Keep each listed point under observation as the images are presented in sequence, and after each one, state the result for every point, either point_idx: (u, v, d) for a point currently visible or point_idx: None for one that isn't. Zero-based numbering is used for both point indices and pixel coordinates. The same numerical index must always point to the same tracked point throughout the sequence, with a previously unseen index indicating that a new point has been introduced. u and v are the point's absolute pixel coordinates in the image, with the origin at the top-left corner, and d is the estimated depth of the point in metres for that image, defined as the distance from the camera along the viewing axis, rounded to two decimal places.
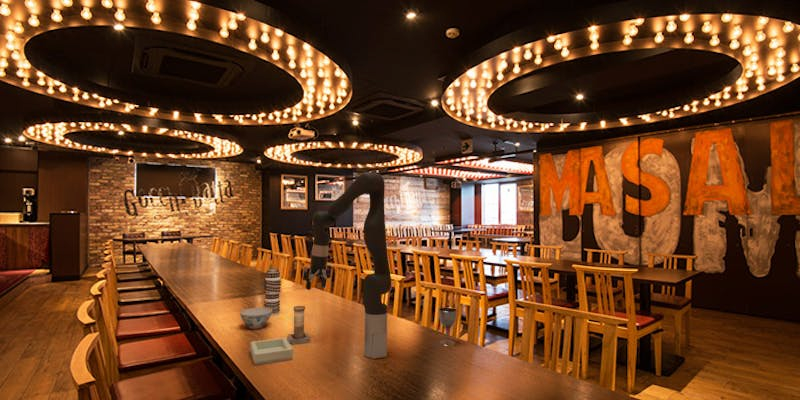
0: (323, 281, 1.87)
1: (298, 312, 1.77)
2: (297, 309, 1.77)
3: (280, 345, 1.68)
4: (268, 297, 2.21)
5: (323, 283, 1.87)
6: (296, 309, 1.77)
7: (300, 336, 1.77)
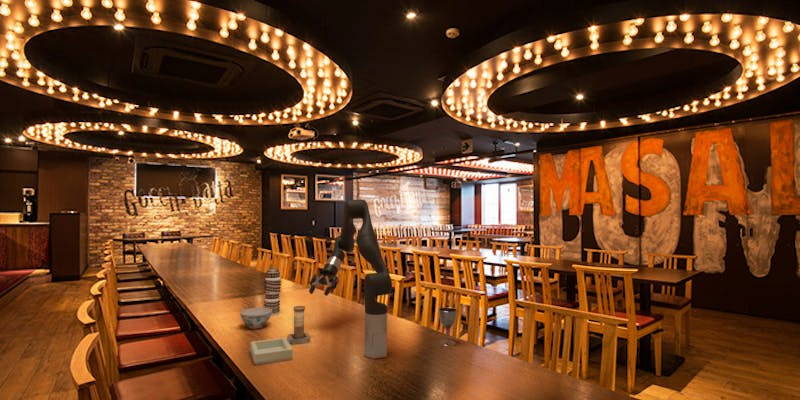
0: None
1: (298, 312, 1.77)
2: (297, 309, 1.77)
3: (280, 345, 1.68)
4: (268, 297, 2.21)
5: None
6: (296, 309, 1.77)
7: (300, 336, 1.77)
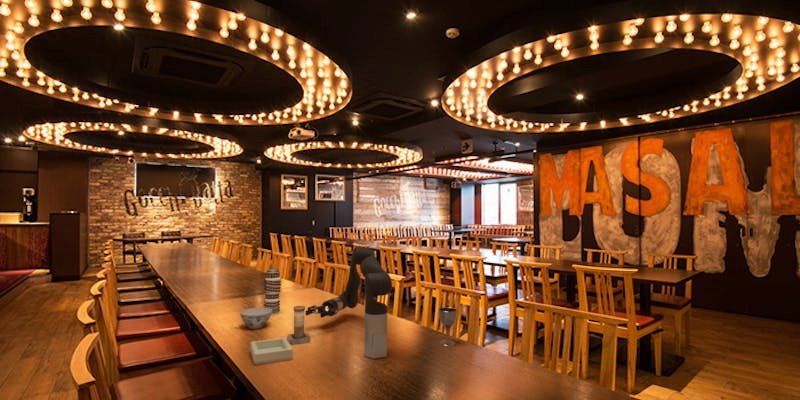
0: None
1: (298, 312, 1.77)
2: (297, 309, 1.77)
3: (280, 345, 1.68)
4: (268, 297, 2.21)
5: None
6: (296, 309, 1.77)
7: (300, 336, 1.77)
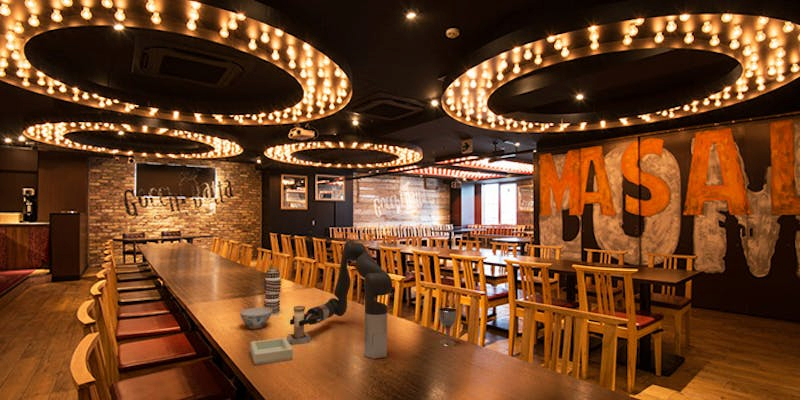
0: None
1: (298, 312, 1.77)
2: (297, 309, 1.77)
3: (280, 345, 1.68)
4: (268, 297, 2.21)
5: None
6: (296, 309, 1.77)
7: (300, 336, 1.77)
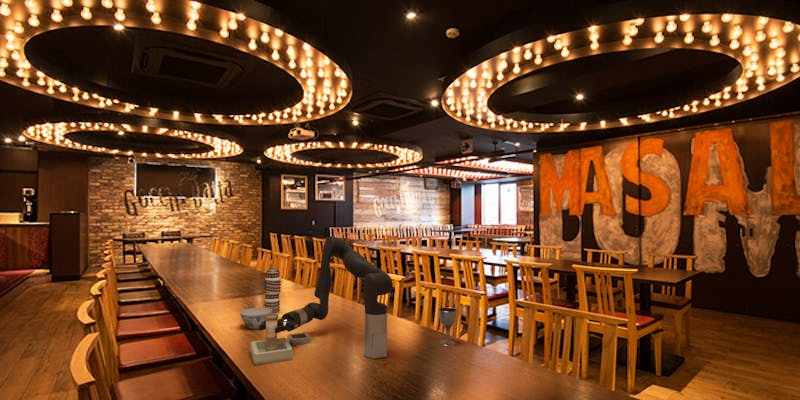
0: None
1: (270, 321, 1.58)
2: (269, 318, 1.58)
3: (280, 345, 1.68)
4: (268, 297, 2.21)
5: None
6: (268, 318, 1.58)
7: (272, 348, 1.58)
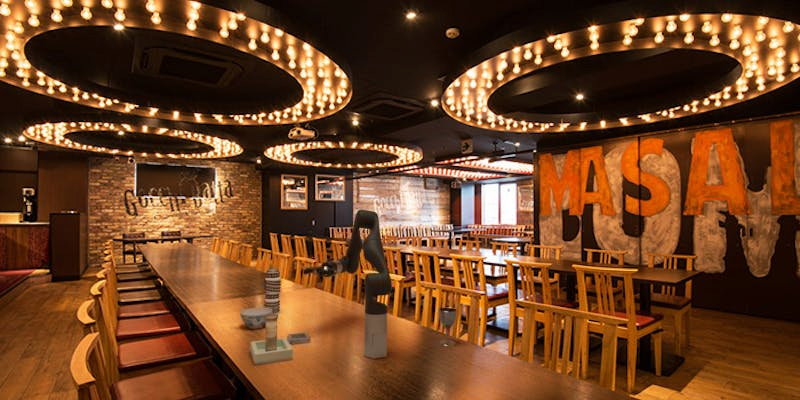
0: None
1: (270, 322, 1.58)
2: (269, 318, 1.57)
3: (280, 345, 1.68)
4: (268, 297, 2.21)
5: None
6: (268, 318, 1.57)
7: (272, 348, 1.58)
